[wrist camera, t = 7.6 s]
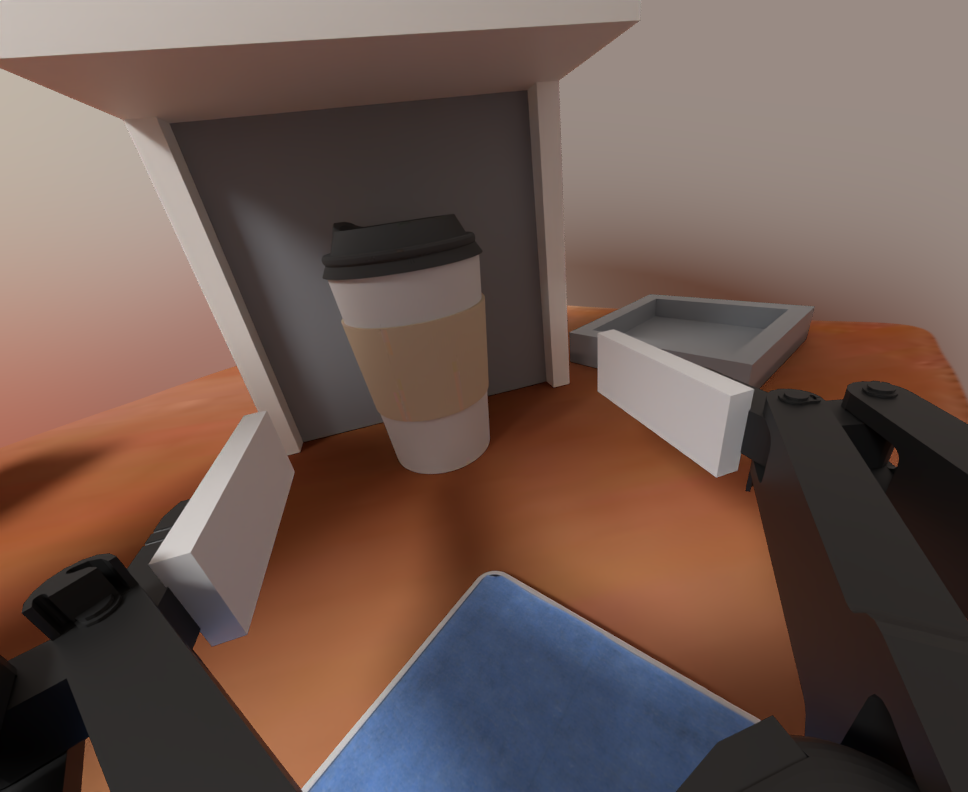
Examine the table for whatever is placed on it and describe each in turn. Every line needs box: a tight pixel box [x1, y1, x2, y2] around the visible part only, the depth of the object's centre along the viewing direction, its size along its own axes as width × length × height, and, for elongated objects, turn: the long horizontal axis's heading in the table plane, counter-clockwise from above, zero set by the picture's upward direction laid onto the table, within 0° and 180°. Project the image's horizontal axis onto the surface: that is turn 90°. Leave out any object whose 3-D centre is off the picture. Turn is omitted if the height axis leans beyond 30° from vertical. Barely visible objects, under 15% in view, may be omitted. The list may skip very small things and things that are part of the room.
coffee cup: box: [321, 214, 490, 474], centre depth 24 cm, size 9×9×15 cm
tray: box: [569, 294, 815, 389], centre depth 35 cm, size 15×15×3 cm
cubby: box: [0, 0, 641, 455], centre depth 23 cm, size 24×11×22 cm, turn 106°
